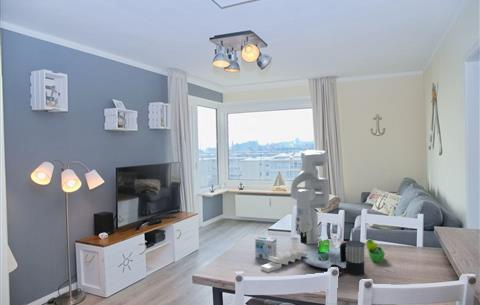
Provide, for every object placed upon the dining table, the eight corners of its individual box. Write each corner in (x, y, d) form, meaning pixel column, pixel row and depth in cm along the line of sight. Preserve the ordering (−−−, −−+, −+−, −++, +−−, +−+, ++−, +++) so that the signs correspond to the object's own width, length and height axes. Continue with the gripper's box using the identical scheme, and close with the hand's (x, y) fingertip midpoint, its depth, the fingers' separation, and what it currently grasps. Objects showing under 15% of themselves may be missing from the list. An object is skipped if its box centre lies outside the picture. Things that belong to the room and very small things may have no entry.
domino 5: (300, 251, 194) (290, 249, 188) (307, 253, 190) (297, 251, 184) (299, 255, 194) (289, 252, 187) (306, 257, 190) (296, 255, 183)
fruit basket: (385, 263, 179) (385, 242, 179) (368, 262, 181) (368, 241, 181) (380, 256, 190) (381, 236, 190) (364, 255, 192) (364, 235, 192)
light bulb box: (255, 257, 191) (254, 238, 190) (259, 253, 197) (259, 235, 196) (272, 260, 186) (272, 241, 185) (276, 256, 192) (276, 237, 191)
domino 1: (274, 261, 179) (261, 265, 173) (281, 263, 175) (267, 268, 169) (274, 264, 179) (261, 269, 173) (281, 267, 175) (267, 272, 169)
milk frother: (368, 272, 168) (368, 242, 167) (354, 281, 156) (354, 250, 156) (341, 265, 178) (341, 237, 177) (326, 273, 166) (326, 244, 166)
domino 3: (288, 256, 186) (276, 253, 180) (295, 258, 182) (283, 255, 176) (287, 260, 186) (275, 257, 180) (294, 262, 182) (282, 259, 176)
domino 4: (294, 254, 190) (283, 251, 184) (301, 256, 186) (290, 253, 180) (293, 257, 190) (282, 254, 183) (300, 259, 186) (289, 257, 179)
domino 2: (281, 258, 183) (269, 255, 177) (288, 261, 179) (275, 258, 173) (280, 262, 182) (268, 259, 177) (287, 264, 178) (274, 262, 173)
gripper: (300, 214, 183) (300, 247, 184) (316, 210, 193) (316, 241, 194) (289, 212, 189) (290, 244, 189) (306, 208, 199) (306, 238, 199)
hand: (303, 242), depth 191 cm, fingers closed
